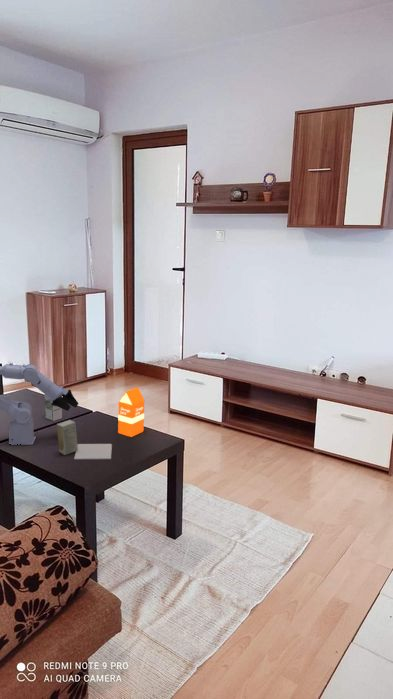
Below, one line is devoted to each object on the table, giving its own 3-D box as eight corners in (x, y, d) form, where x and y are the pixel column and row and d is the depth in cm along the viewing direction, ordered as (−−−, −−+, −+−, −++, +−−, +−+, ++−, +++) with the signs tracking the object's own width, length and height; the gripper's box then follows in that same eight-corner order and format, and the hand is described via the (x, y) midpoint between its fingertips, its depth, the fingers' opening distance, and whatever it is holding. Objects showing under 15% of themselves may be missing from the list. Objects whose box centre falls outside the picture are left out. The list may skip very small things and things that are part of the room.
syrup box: (62, 418, 239) (62, 388, 236) (52, 421, 234) (52, 391, 231) (54, 415, 242) (53, 386, 239) (44, 418, 237) (43, 388, 234)
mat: (74, 459, 196) (74, 458, 196) (77, 444, 210) (77, 444, 210) (110, 459, 198) (110, 458, 198) (111, 444, 212) (111, 443, 212)
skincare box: (72, 447, 206) (70, 419, 204) (78, 450, 203) (76, 422, 201) (58, 452, 202) (56, 423, 199) (64, 455, 199) (61, 426, 196)
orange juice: (117, 432, 225) (118, 389, 220) (130, 427, 232) (131, 385, 228) (131, 437, 221) (132, 393, 217) (144, 431, 228) (145, 388, 224)
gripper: (60, 375, 205) (85, 396, 210) (46, 383, 216) (70, 403, 220) (50, 389, 201) (76, 409, 206) (36, 396, 212) (61, 415, 216)
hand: (73, 407), depth 213 cm, fingers open, 7 cm apart
